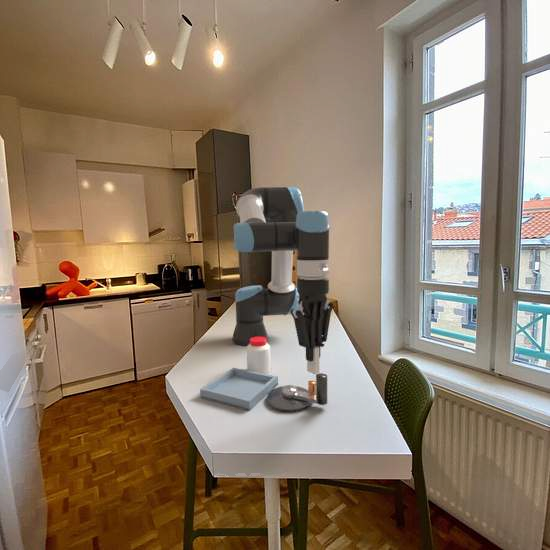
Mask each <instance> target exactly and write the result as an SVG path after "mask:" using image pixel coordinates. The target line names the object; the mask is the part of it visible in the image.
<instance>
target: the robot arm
mask: <svg viewBox="0 0 550 550" xmlns="http://www.w3.org/2000/svg"><path fill="white" fill-rule="evenodd" d="M302 196H303V195H302V193H301V191H300V189H299V188H298V187H291V186H290V187H289V186H276V187H275V186H272V187H271V186H268V187H267V186H266V187H263V186H262V187H261V186H259V187H254V188H251V189H249V190H247V191H245V192H244V193H242V195H240V196H239V197H238V199H237V201H236V204H235V205H236V206H235V208H236V209H235V211H236V214H237V216H238V217H239V222H237V223H234V224H233V243H234V245H233V246H234V250H235V251H237V252H241V253H242V252H244V253H254V252H255V253H257V252H271V281H270V282H268V284H267V288H264V287H263V286H262V285H250V286H244V287H241V288H239V289H237V290H236V292H235V300H234V302H235V322H236V323H235V327H234V331H233V334H232V343H234V344H236V345H238V346H239V345H240V346H248V345H249V344H250V338H252V337H265V338H266V339H267V341H269V338H268V336H269V335H268V332H267V328H266V325H265V323H264V317H267V316H287V315H291V316H292V318H293V320H294V326H295V330H296V336H297V340H298V345H299V346H300V347H303V348H305V360H306V368H307V369H306V371H307V373H311V374H313V375H315V376H316V375H317V374H320V358H321V348H324V347H325V343H326V342H327V340H328V333H329V328H330V327H329V326H330V320H331V314H332V311H333V308H334V306H335V305H334V303H333V302H329V301H328V297H327V295H328V294H329V292H330V287H329V286H330V285H329V284H330V280H329V278H328V276H329V275H330V274H329V273H330V272H329V257H330V256H329V255H330V253H329V251H330V249H329V248H330V228H331V227H330V222H329V221H330V220H329V213H328V212H327V211H325V210H304V209H305V208H304V201H303V197H302ZM266 220H267V221H268V222H266ZM294 251H295V252H296V276H297V277H299V278H297V279H296V284H295V283H294V282H293V264H294V263H293V261H294V260H293V259H294Z"/></svg>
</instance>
